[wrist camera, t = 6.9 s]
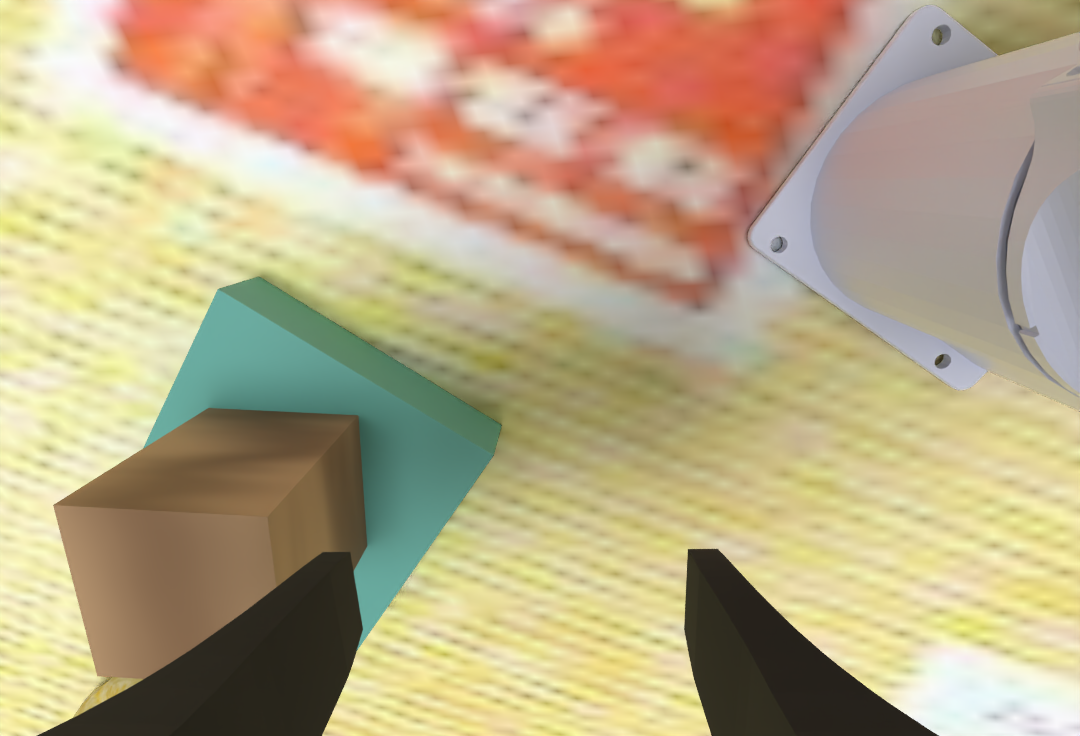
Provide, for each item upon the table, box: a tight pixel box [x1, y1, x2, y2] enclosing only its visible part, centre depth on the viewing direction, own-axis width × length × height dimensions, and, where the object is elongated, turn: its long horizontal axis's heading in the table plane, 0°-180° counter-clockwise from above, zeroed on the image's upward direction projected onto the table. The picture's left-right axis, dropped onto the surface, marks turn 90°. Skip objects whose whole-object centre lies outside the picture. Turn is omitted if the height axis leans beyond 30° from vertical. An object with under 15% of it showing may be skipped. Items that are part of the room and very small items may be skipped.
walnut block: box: [53, 408, 367, 679], centre depth 17 cm, size 5×5×6 cm
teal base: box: [143, 277, 502, 650], centre depth 21 cm, size 10×10×3 cm
